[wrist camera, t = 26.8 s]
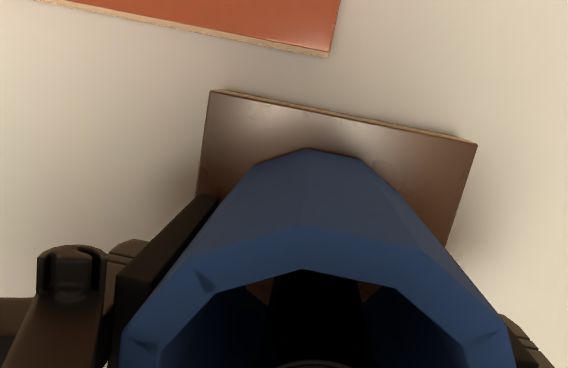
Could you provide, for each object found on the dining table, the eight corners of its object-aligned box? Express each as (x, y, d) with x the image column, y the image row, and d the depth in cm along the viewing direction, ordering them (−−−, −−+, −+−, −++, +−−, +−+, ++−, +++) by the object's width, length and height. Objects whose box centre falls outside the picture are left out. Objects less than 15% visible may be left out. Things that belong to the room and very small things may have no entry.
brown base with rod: (190, 298, 19) (39, 565, 8) (221, 89, 16) (57, 99, 6) (395, 342, 19) (499, 671, 8) (459, 136, 16) (730, 236, 6)
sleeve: (201, 314, 16) (100, 525, 8) (230, 132, 14) (134, 190, 6) (383, 352, 16) (451, 603, 8) (437, 175, 14) (591, 285, 6)
